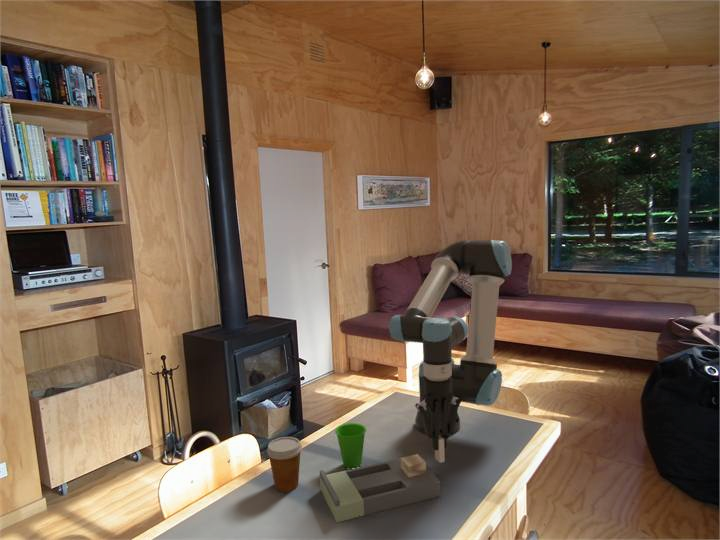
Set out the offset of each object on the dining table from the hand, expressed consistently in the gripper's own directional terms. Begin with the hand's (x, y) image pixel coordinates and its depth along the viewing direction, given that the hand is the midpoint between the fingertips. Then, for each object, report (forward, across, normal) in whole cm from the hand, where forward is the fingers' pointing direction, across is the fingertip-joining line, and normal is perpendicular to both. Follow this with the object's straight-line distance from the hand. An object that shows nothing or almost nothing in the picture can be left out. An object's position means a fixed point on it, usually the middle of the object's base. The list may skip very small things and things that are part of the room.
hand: (439, 459), depth 136 cm
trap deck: (+5, -18, 0) cm, 19 cm away
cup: (+6, -20, +17) cm, 27 cm away
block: (+1, -8, 0) cm, 8 cm away
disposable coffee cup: (+6, -40, +14) cm, 43 cm away
